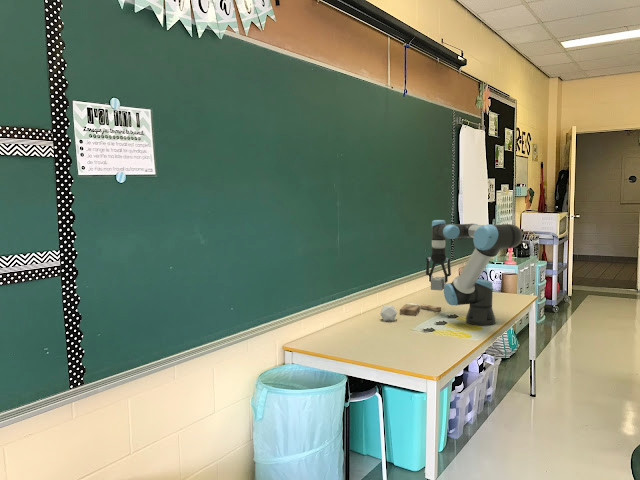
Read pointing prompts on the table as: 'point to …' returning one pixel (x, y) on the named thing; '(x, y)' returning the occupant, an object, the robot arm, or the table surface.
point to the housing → (437, 283)
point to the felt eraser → (430, 308)
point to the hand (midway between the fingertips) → (438, 287)
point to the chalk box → (411, 304)
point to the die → (388, 313)
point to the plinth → (410, 310)
